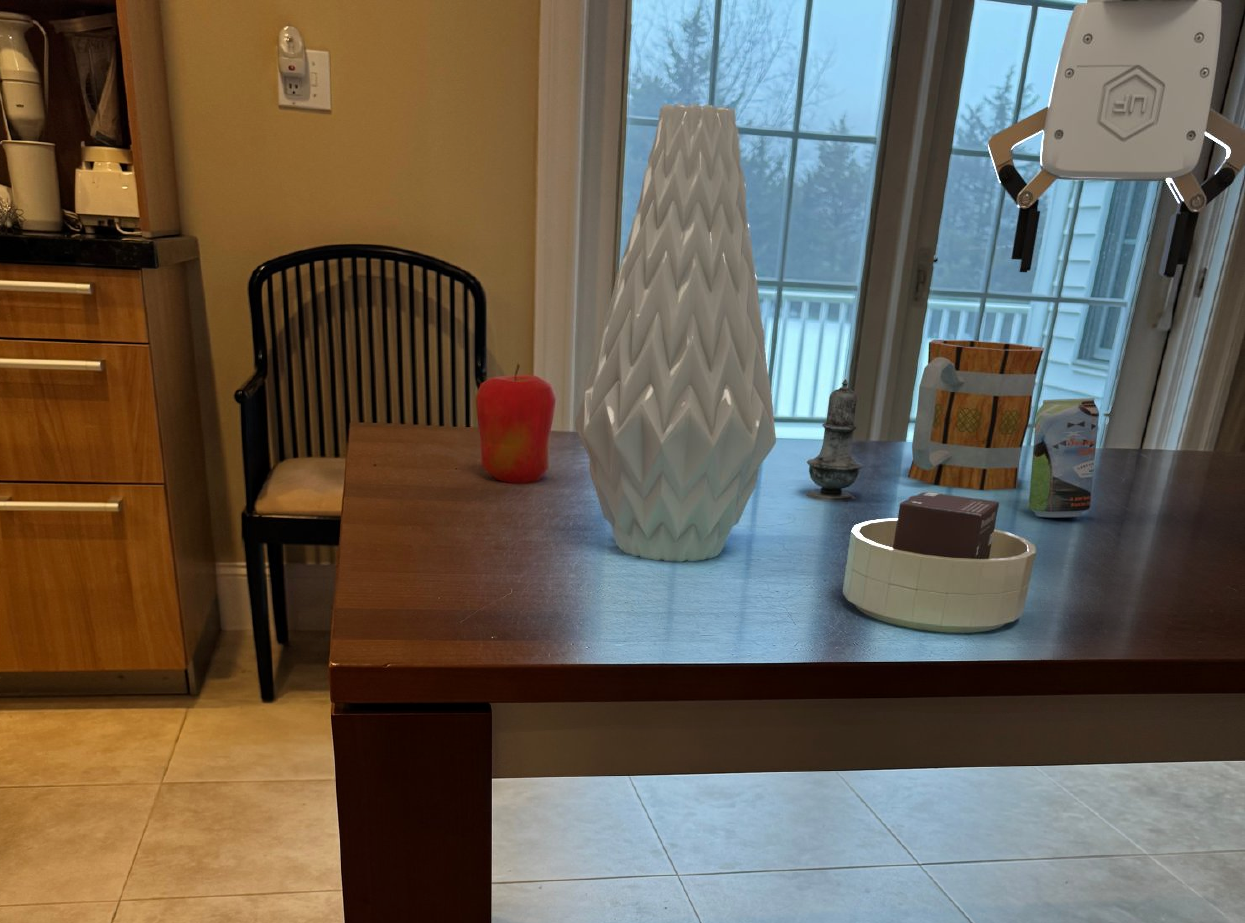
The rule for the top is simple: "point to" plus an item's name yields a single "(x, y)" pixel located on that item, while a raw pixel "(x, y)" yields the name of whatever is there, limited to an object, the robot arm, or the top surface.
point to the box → (946, 526)
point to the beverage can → (1063, 457)
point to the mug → (973, 413)
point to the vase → (682, 353)
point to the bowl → (936, 582)
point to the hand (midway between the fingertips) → (1094, 273)
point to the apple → (515, 426)
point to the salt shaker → (836, 449)
